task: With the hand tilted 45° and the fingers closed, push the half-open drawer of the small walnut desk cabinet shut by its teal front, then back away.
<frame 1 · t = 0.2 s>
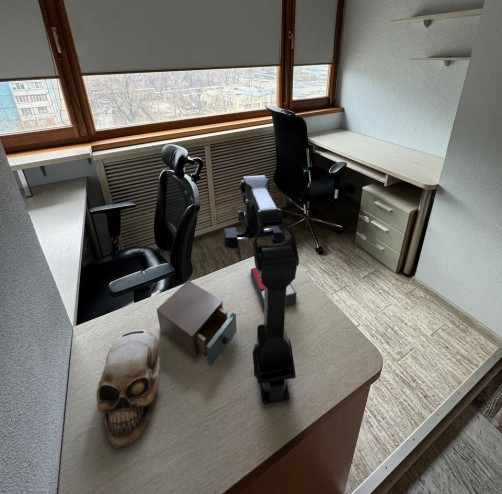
hand: (254, 256, 85), 15 cm above the table, tool pointing down, fingers open, 9 cm apart
cabinet: (192, 327, 79), on the table
drawer: (208, 328, 74), point 5 cm above the table, slide at 4.0 cm
calculator: (272, 288, 91), on the table
coin bank: (134, 391, 64), on the table
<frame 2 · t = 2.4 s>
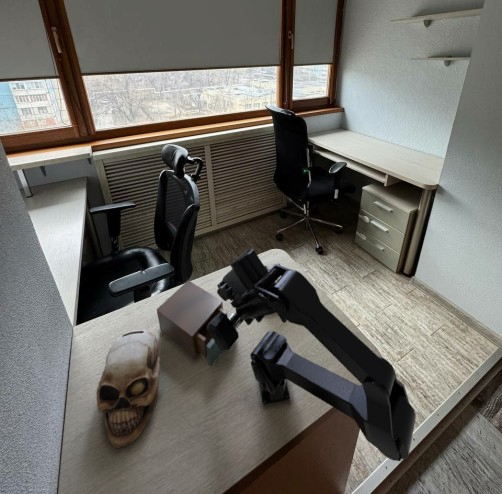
hand: (227, 313, 67), 14 cm above the table, tool tilted 40°, fingers open, 9 cm apart
nothing on the table moved.
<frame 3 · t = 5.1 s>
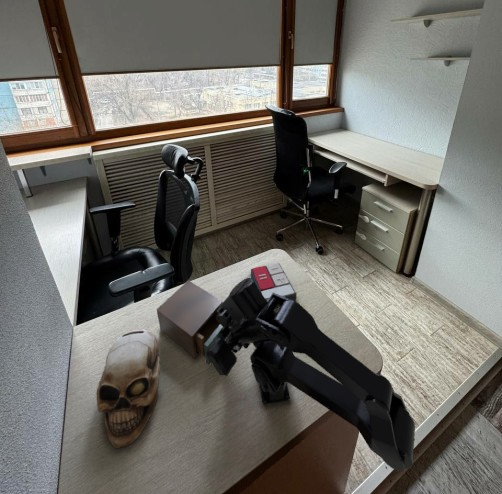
hand: (222, 333, 70), 7 cm above the table, tool tilted 45°, fingers closed, pressing on drawer
drawer: (206, 327, 74), point 5 cm above the table, slide at 3.3 cm, touching gripper
everything else where it was.
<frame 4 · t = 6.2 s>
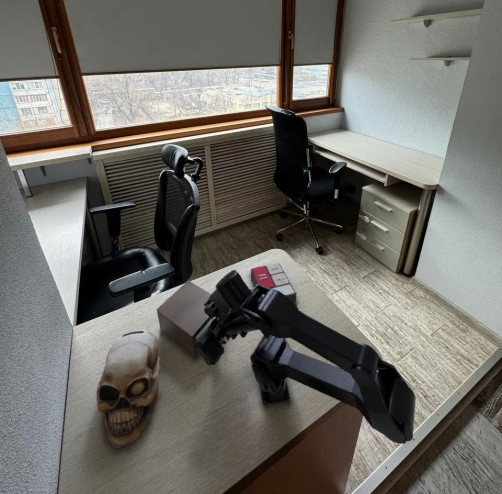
hand: (212, 326, 72), 7 cm above the table, tool tilted 45°, fingers closed, pressing on drawer
drawer: (197, 320, 76), point 5 cm above the table, slide at 0.0 cm, touching cabinet, gripper
everything else where it was.
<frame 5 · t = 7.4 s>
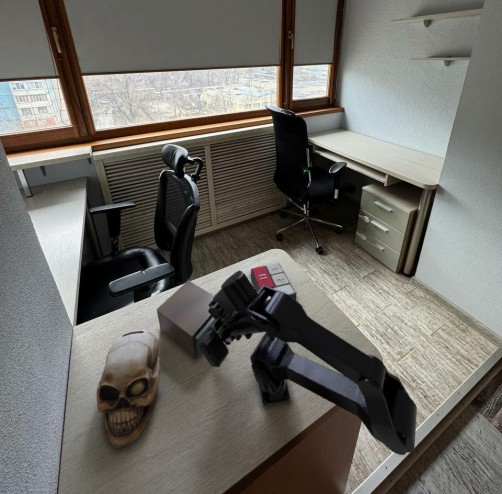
hand: (216, 326, 71), 8 cm above the table, tool tilted 45°, fingers closed
drawer: (197, 320, 76), point 5 cm above the table, slide at 0.0 cm, touching cabinet
everything else where it was.
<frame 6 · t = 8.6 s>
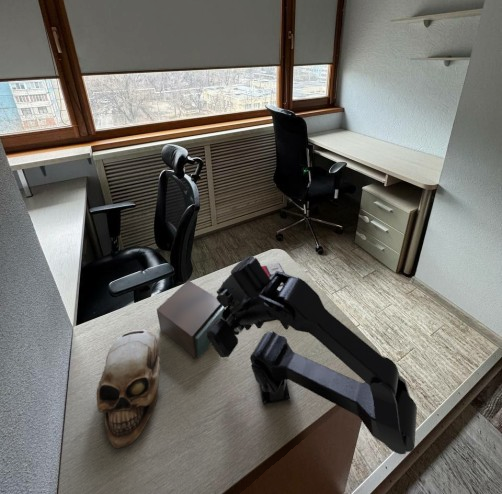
hand: (223, 316, 67), 14 cm above the table, tool tilted 45°, fingers closed
nothing on the table moved.
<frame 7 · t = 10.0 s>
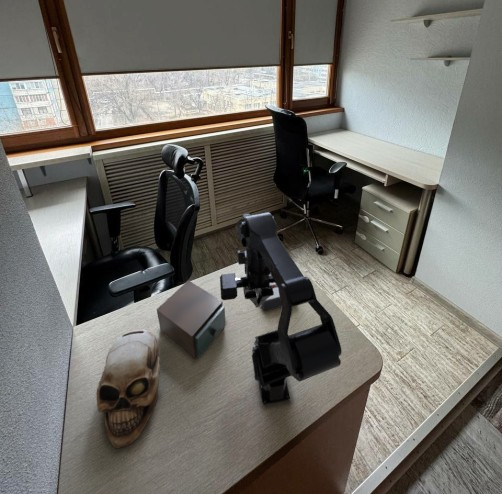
hand: (257, 305, 70), 13 cm above the table, tool pointing down, fingers closed
nothing on the table moved.
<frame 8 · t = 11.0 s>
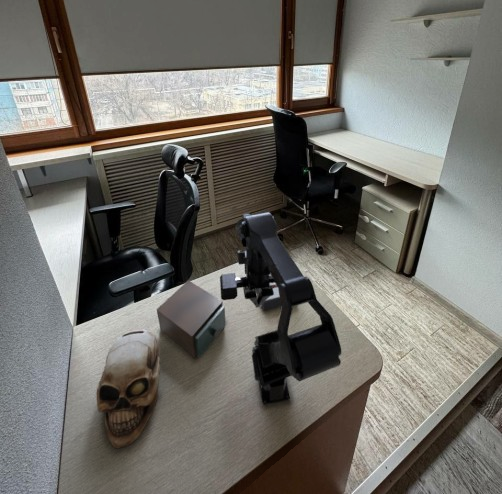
hand: (257, 305, 70), 13 cm above the table, tool pointing down, fingers closed
nothing on the table moved.
at the end: drawer slide at 0.0 cm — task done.
